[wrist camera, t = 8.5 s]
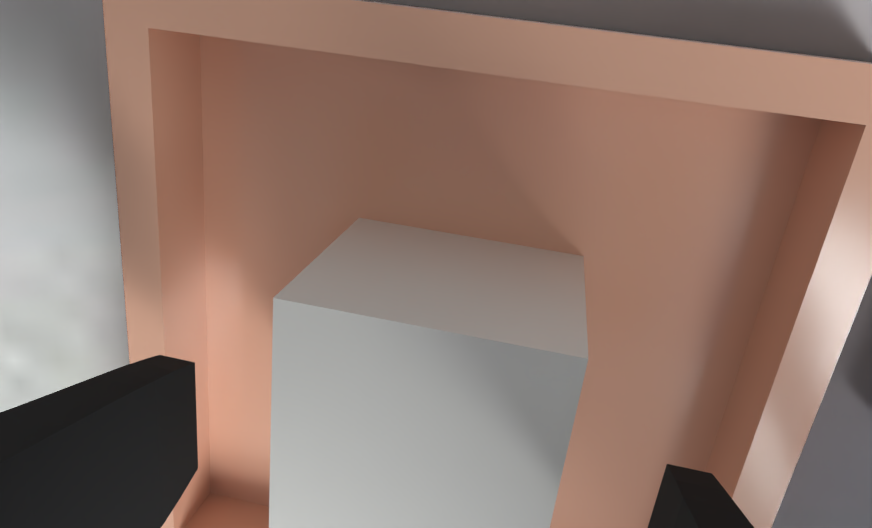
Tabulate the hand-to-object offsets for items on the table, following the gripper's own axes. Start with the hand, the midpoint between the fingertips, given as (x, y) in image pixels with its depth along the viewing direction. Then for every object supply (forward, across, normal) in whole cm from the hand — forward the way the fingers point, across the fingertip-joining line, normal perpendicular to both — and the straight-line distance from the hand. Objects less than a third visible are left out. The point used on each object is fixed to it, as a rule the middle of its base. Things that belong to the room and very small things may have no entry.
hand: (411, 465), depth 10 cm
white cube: (+4, 0, 0) cm, 4 cm away
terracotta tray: (+4, 0, 0) cm, 5 cm away
